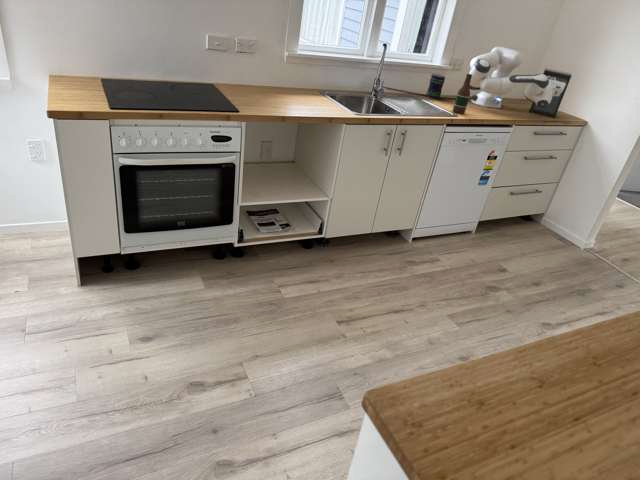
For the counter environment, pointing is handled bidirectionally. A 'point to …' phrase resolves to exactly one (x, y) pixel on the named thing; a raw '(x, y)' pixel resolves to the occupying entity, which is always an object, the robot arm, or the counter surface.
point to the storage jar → (435, 86)
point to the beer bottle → (462, 96)
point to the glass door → (556, 100)
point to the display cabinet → (564, 92)
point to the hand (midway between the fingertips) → (551, 77)
